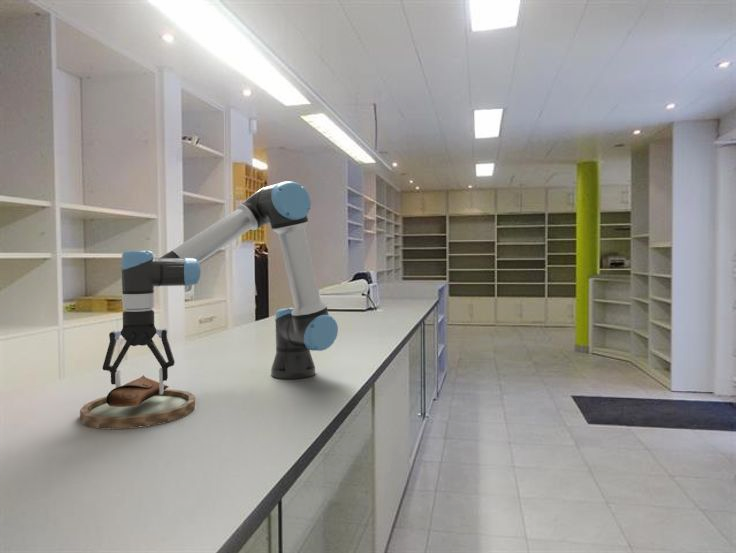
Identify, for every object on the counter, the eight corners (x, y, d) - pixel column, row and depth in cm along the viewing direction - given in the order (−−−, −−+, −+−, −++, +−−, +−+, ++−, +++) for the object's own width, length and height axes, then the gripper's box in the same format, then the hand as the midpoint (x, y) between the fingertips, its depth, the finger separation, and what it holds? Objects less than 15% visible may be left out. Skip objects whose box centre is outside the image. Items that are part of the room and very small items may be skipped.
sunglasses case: (140, 404, 124) (125, 381, 124) (116, 419, 124) (101, 395, 124) (170, 386, 142) (158, 365, 142) (149, 399, 142) (137, 378, 142)
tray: (196, 394, 150) (196, 386, 150) (193, 422, 124) (193, 412, 124) (94, 402, 142) (94, 393, 142) (68, 434, 116) (68, 423, 116)
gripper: (184, 307, 139) (186, 387, 140) (93, 310, 133) (95, 394, 133) (183, 309, 132) (184, 394, 133) (87, 312, 126) (89, 402, 126)
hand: (140, 394), depth 133 cm, fingers closed on sunglasses case, 10 cm apart
